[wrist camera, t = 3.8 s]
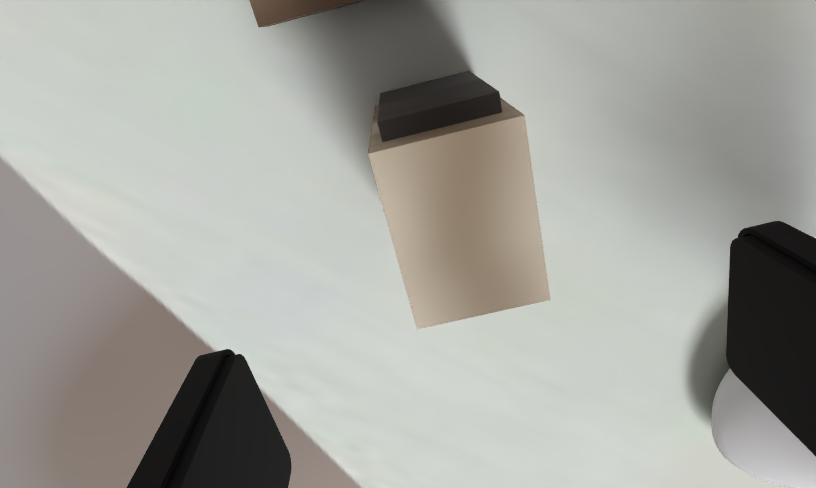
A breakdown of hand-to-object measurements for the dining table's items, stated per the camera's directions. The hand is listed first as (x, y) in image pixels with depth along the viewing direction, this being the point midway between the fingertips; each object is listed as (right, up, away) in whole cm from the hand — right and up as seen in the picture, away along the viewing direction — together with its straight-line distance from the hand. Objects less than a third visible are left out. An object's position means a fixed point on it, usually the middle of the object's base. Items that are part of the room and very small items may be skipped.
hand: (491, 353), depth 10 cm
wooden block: (0, +6, +13) cm, 14 cm away
